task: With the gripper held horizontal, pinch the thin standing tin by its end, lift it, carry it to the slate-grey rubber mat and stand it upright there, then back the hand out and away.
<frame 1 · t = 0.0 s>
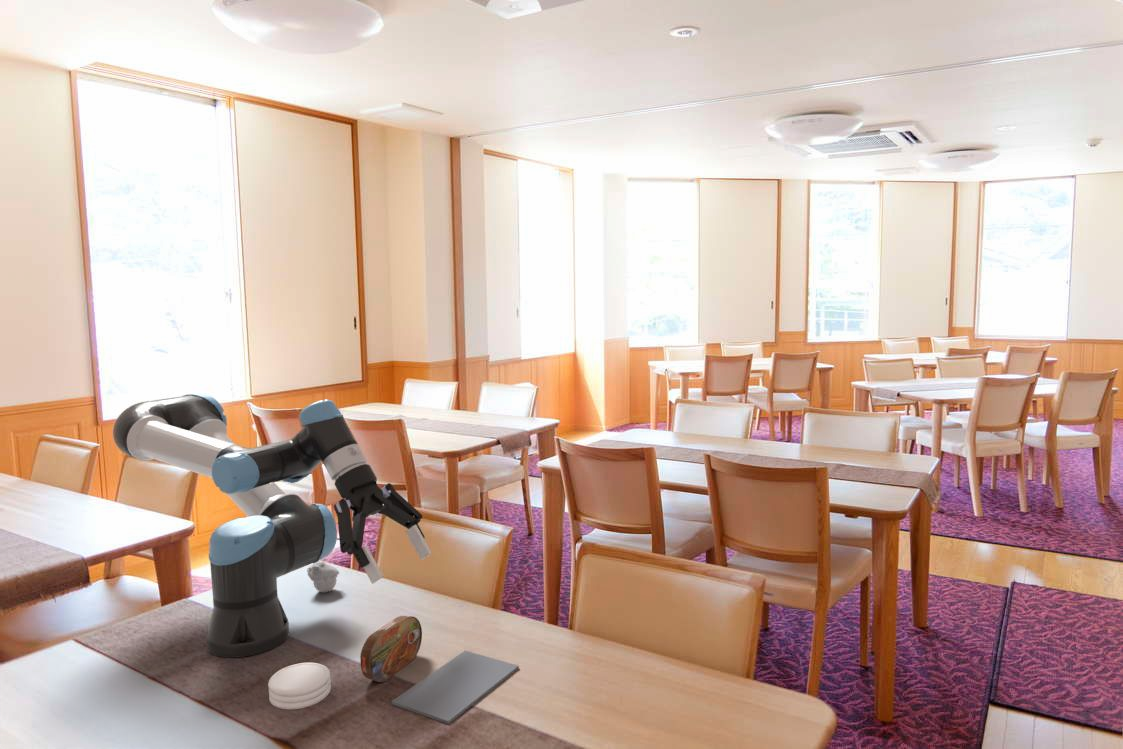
hand: (403, 568, 147), 15 cm above the table, tool tilted 35°, fingers open, 13 cm apart
tin: (392, 670, 139), on the table
slate mat: (457, 685, 133), on the table
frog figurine: (324, 592, 175), on the table
white round stack: (300, 696, 131), on the table
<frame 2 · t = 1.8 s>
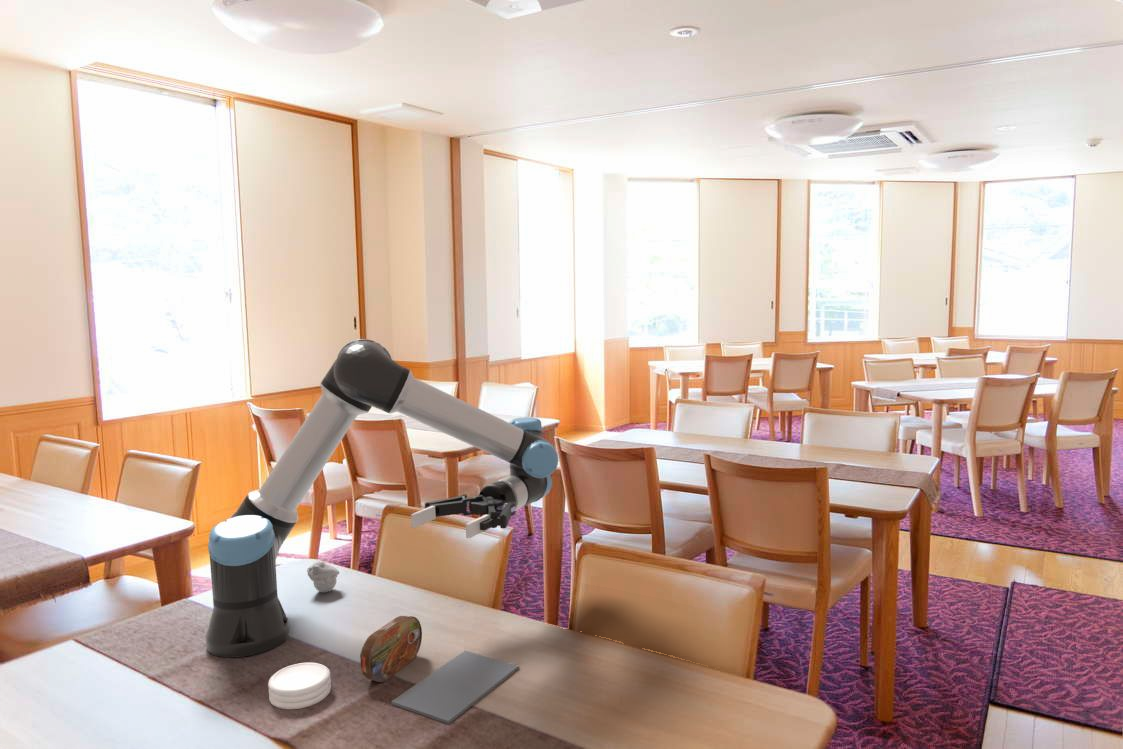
hand: (439, 526, 149), 22 cm above the table, tool horizontal, fingers open, 13 cm apart
nothing on the table moved.
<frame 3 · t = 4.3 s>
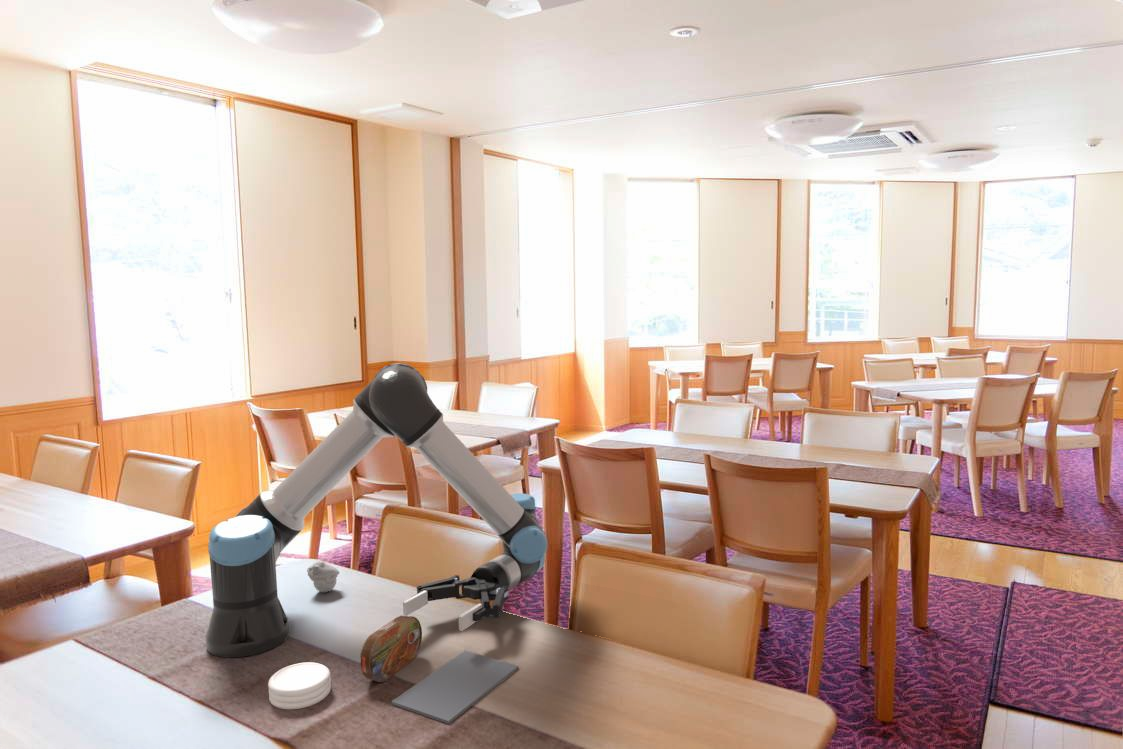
hand: (431, 616, 147), 6 cm above the table, tool horizontal, fingers open, 13 cm apart
nothing on the table moved.
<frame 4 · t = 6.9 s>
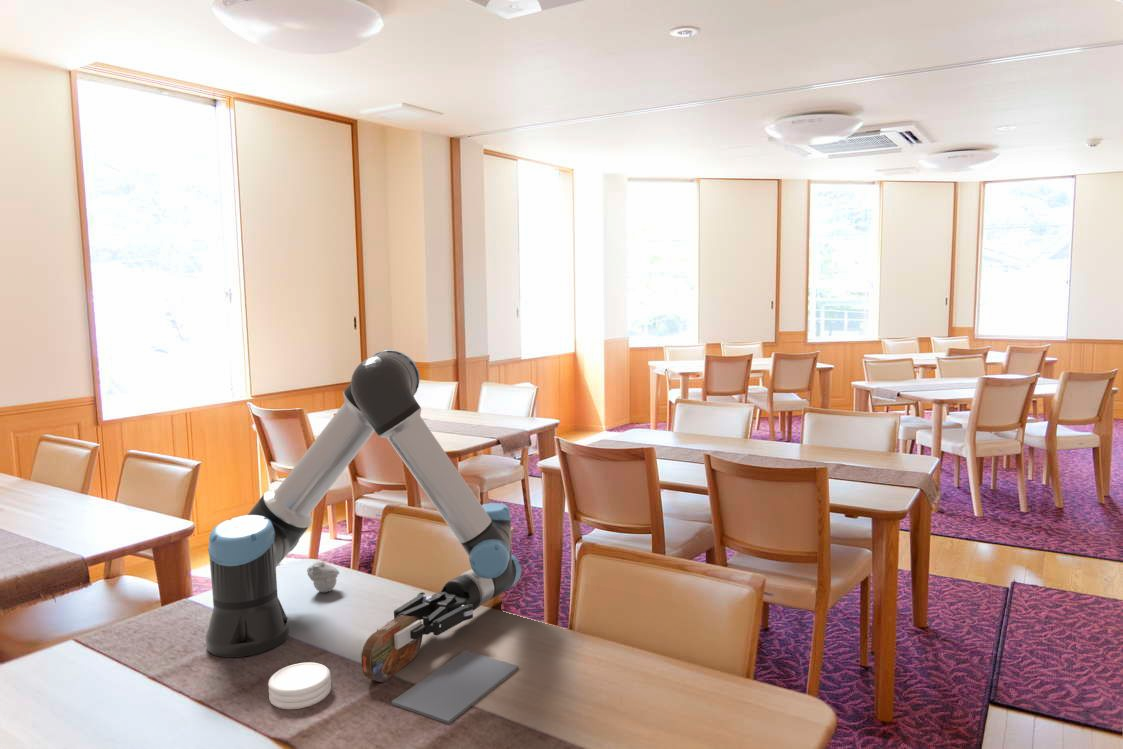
hand: (387, 639, 138), 6 cm above the table, tool horizontal, fingers open, 3 cm apart
tin: (392, 669, 139), on the table, touching gripper
everything else where it was.
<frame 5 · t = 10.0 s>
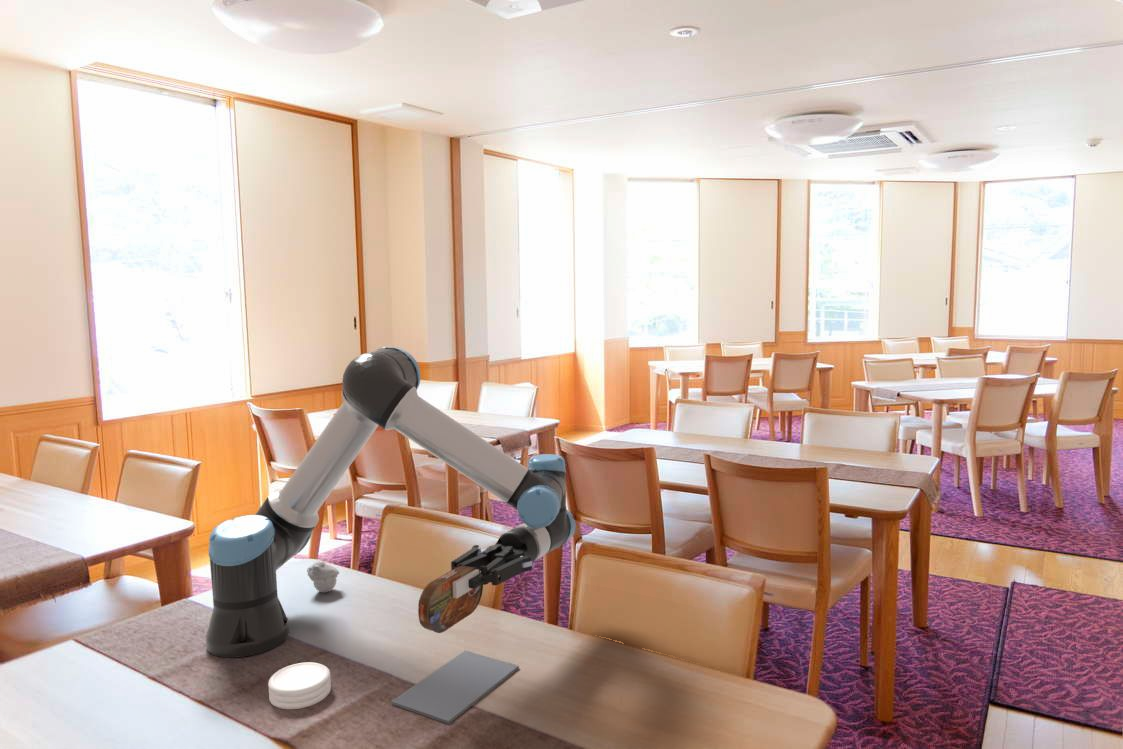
hand: (446, 588, 129), 18 cm above the table, tool horizontal, fingers closed on tin, 3 cm apart
tin: (450, 621, 131), point 12 cm above the table, touching gripper
everything else where it was.
when the fingers open (8 cm above the table, at t = 12.6 s): tin drops 1 cm, resting on slate mat.
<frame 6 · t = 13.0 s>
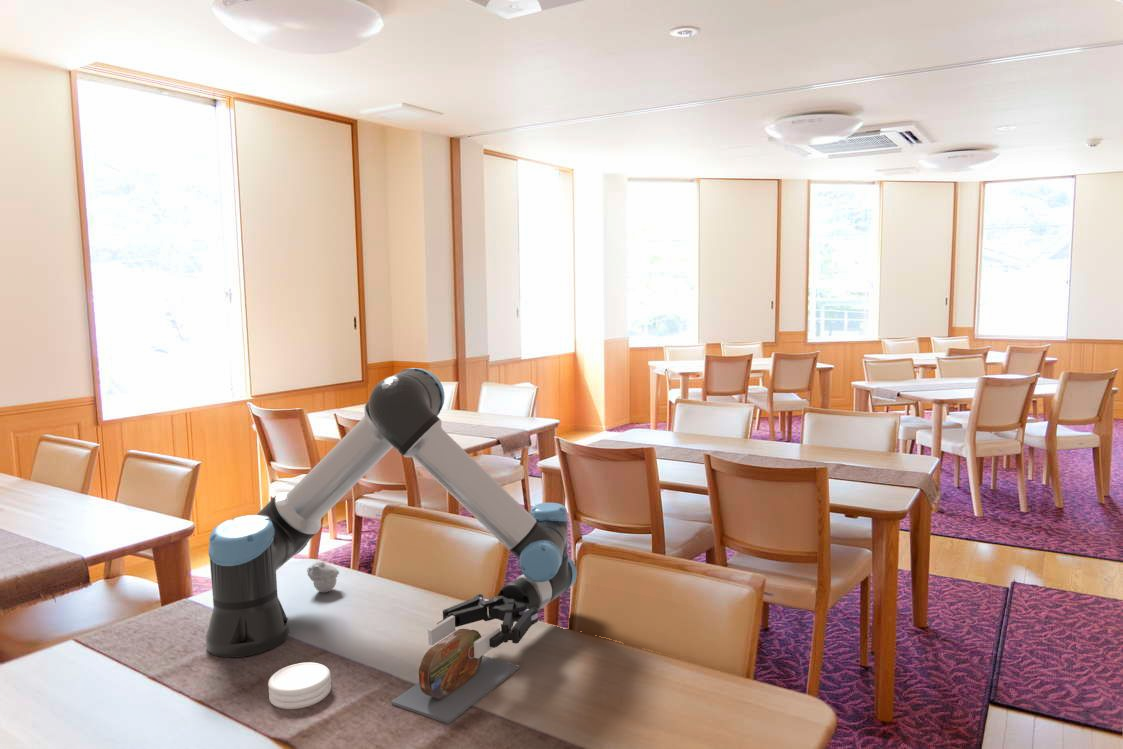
hand: (452, 643, 131), 8 cm above the table, tool horizontal, fingers open, 9 cm apart
tin: (452, 686, 132), resting on slate mat
everything else where it was.
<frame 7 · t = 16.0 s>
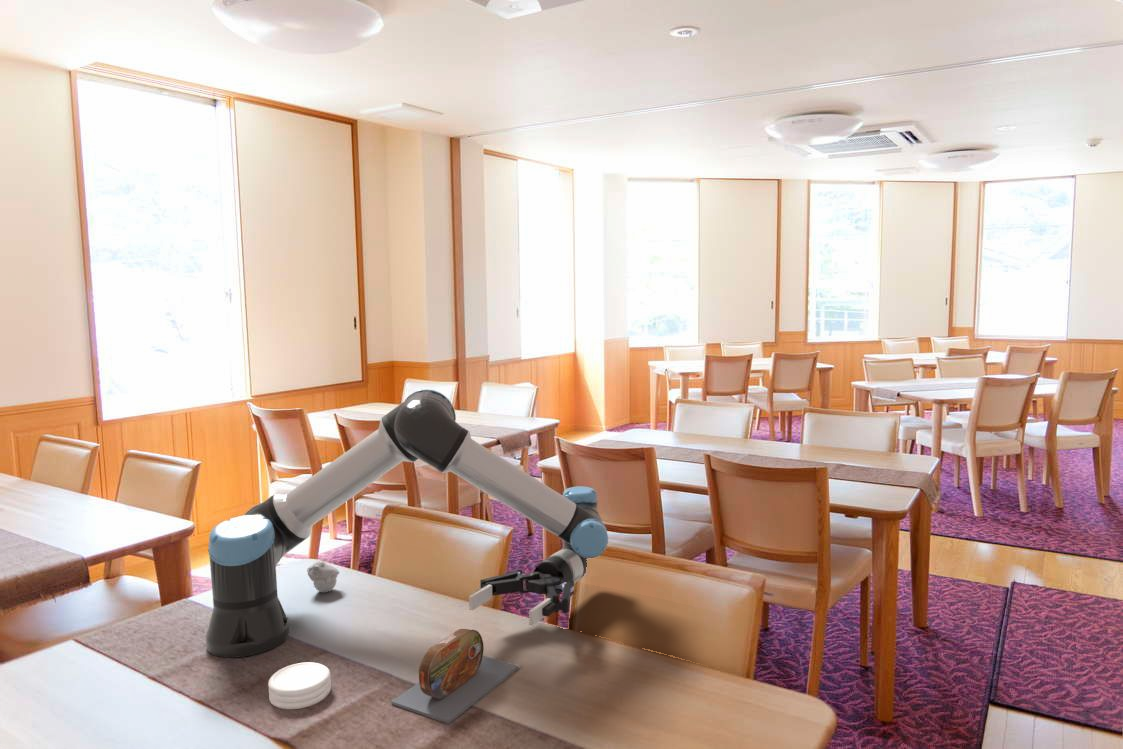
hand: (499, 610, 143), 8 cm above the table, tool horizontal, fingers open, 13 cm apart
nothing on the table moved.
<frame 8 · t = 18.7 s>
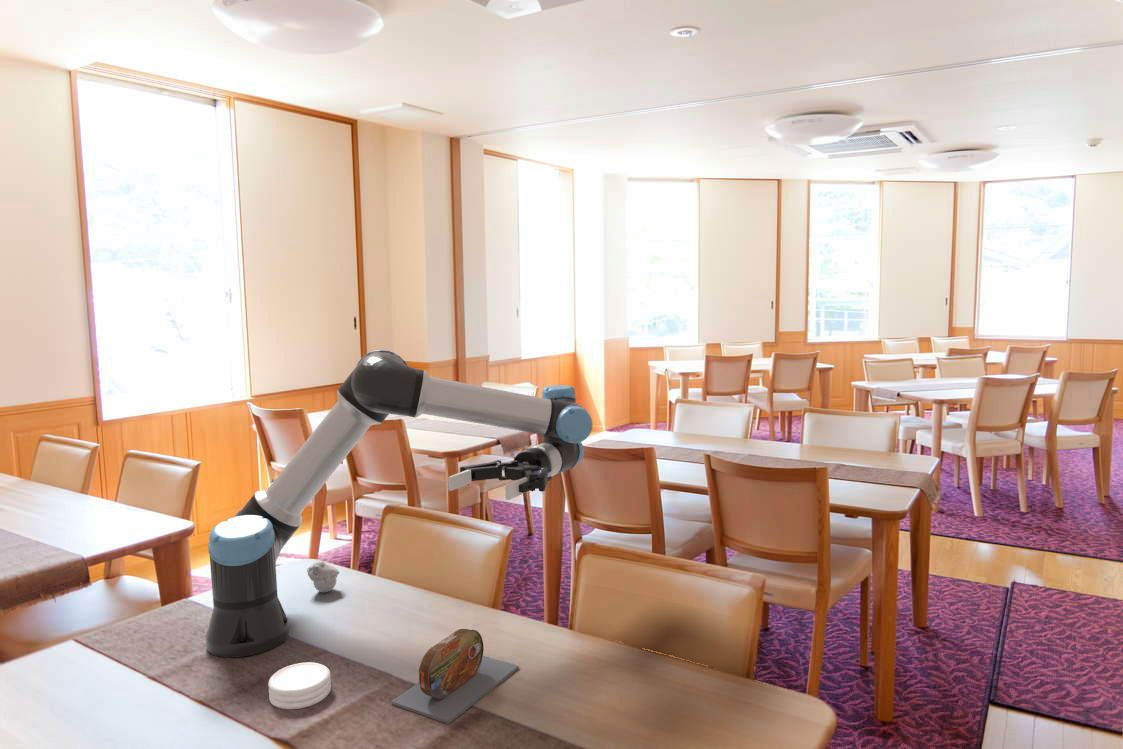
hand: (477, 488, 147), 30 cm above the table, tool horizontal, fingers open, 13 cm apart
nothing on the table moved.
at the end: tin inside the target area on the slate mat (1.0 cm from its centre), point 0.3 cm above the slate mat's base; tin tilted 0°; the gripper is holding nothing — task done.
